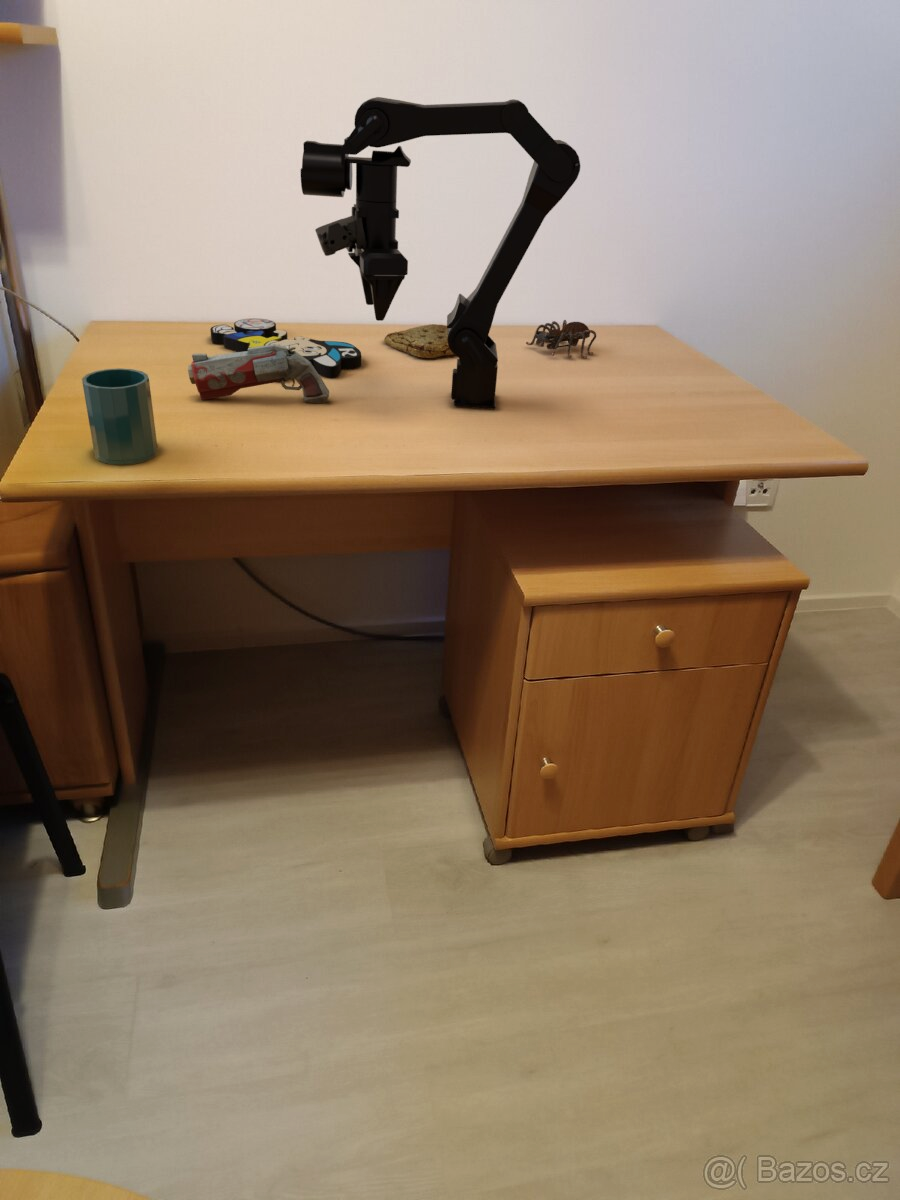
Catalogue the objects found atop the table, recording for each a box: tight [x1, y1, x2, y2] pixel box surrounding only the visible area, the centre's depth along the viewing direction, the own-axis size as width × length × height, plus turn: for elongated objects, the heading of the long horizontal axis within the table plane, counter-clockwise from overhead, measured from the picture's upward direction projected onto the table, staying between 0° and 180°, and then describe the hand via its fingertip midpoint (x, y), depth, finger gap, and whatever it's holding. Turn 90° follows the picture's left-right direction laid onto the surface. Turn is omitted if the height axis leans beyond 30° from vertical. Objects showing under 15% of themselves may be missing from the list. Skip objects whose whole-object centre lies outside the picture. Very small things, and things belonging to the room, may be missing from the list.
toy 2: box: [525, 319, 597, 359], centre depth 166 cm, size 12×12×5 cm
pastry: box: [384, 323, 455, 359], centre depth 163 cm, size 17×17×3 cm
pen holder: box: [81, 367, 159, 466], centre depth 112 cm, size 8×8×10 cm
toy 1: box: [209, 317, 362, 382], centre depth 154 cm, size 28×2×30 cm
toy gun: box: [187, 344, 330, 404], centre depth 133 cm, size 4×20×10 cm, turn 95°
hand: (374, 312), depth 132 cm, fingers open, 9 cm apart
